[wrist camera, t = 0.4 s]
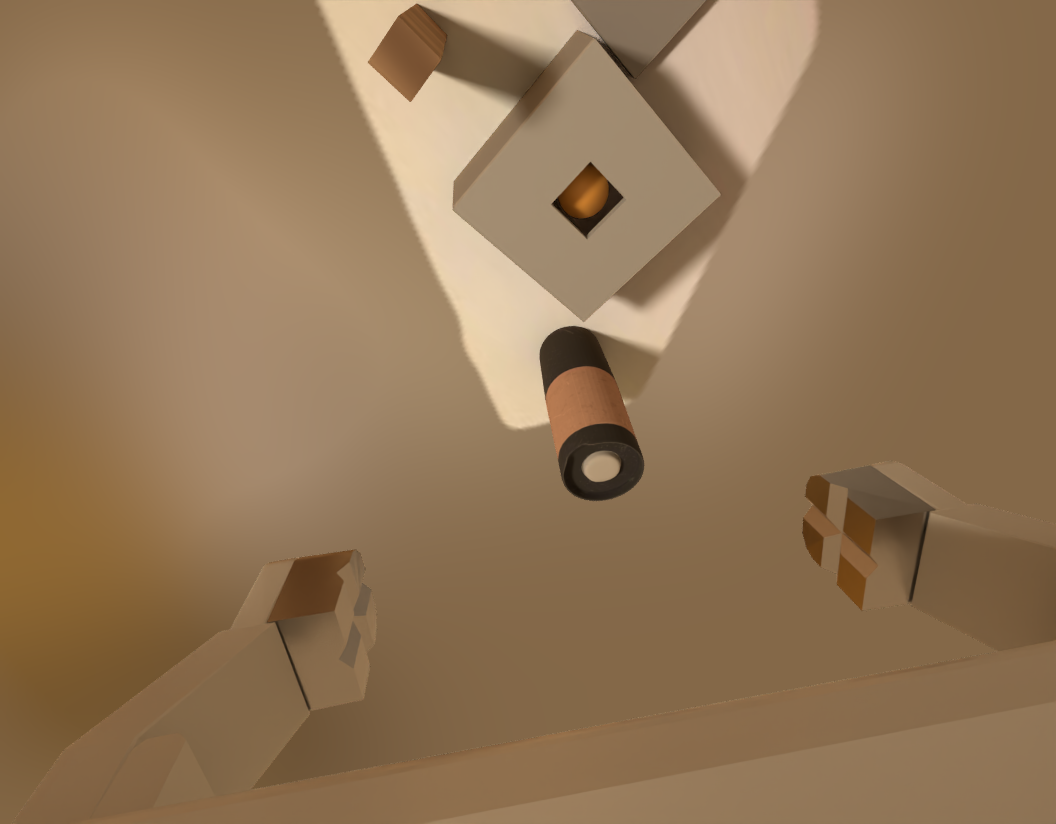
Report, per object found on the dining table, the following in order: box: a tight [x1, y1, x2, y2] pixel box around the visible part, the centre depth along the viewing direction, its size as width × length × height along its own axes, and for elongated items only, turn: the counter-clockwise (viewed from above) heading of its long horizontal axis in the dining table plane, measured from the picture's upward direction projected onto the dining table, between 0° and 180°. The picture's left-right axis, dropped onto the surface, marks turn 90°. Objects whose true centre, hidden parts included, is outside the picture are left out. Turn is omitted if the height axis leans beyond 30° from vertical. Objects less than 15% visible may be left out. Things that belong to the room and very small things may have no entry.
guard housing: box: [453, 30, 721, 322], centre depth 49 cm, size 16×16×8 cm
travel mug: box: [540, 326, 644, 501], centre depth 57 cm, size 8×8×20 cm
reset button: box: [558, 162, 609, 218], centre depth 49 cm, size 4×4×2 cm
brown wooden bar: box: [368, 4, 447, 102], centre depth 38 cm, size 3×3×16 cm
